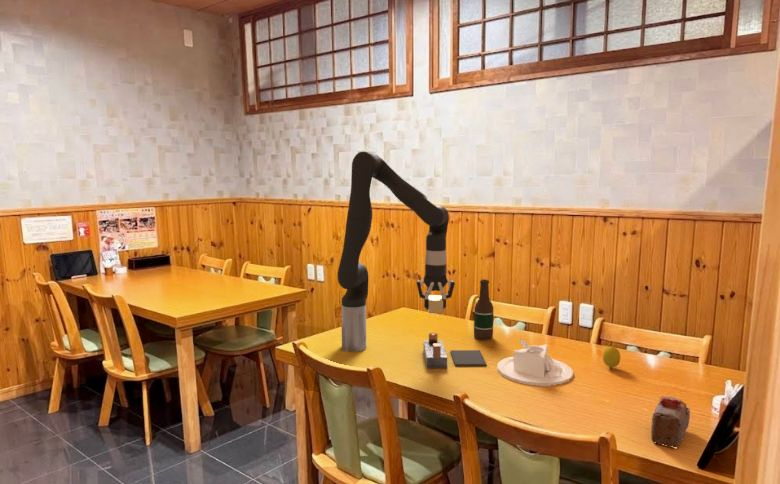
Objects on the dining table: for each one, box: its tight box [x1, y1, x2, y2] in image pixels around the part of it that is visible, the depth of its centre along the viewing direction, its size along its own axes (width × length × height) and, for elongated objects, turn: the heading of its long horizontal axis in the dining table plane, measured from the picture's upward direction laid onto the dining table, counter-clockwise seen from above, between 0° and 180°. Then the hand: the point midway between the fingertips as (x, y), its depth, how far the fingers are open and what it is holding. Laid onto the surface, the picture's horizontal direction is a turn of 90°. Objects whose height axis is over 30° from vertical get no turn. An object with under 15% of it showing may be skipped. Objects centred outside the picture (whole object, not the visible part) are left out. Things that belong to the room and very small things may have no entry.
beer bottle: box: [473, 279, 494, 341], centre depth 212 cm, size 8×8×24 cm
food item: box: [650, 396, 691, 449], centre depth 134 cm, size 14×8×10 cm, turn 146°
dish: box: [497, 339, 574, 387], centre depth 177 cm, size 25×25×11 cm
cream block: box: [427, 294, 444, 314], centre depth 186 cm, size 5×8×4 cm, turn 0°
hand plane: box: [423, 332, 448, 370], centre depth 189 cm, size 18×7×8 cm, turn 0°
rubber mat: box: [449, 349, 488, 367], centre depth 189 cm, size 11×14×1 cm
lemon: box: [602, 345, 621, 369], centre depth 179 cm, size 6×6×8 cm
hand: (435, 308), depth 187 cm, fingers closed on cream block, 5 cm apart
